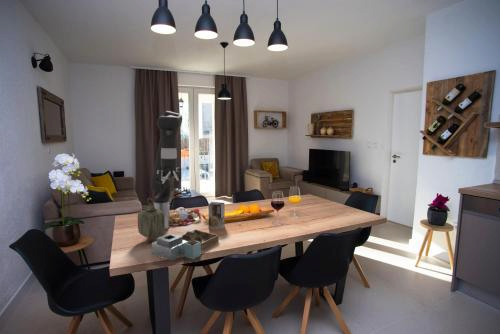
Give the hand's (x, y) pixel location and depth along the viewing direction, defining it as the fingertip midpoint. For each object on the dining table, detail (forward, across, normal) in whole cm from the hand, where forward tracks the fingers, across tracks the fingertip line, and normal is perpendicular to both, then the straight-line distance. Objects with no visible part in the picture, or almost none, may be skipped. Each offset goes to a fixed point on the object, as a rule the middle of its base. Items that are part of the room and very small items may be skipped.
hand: (169, 189), depth 137 cm
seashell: (+33, +15, -5) cm, 37 cm away
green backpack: (+34, +4, +20) cm, 39 cm away
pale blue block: (+33, -1, -2) cm, 33 cm away
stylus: (+32, +3, -14) cm, 35 cm away
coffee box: (+34, +43, +3) cm, 55 cm away
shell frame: (+33, +16, -4) cm, 37 cm away
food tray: (+35, +41, +33) cm, 63 cm away
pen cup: (+33, +3, -14) cm, 36 cm away
